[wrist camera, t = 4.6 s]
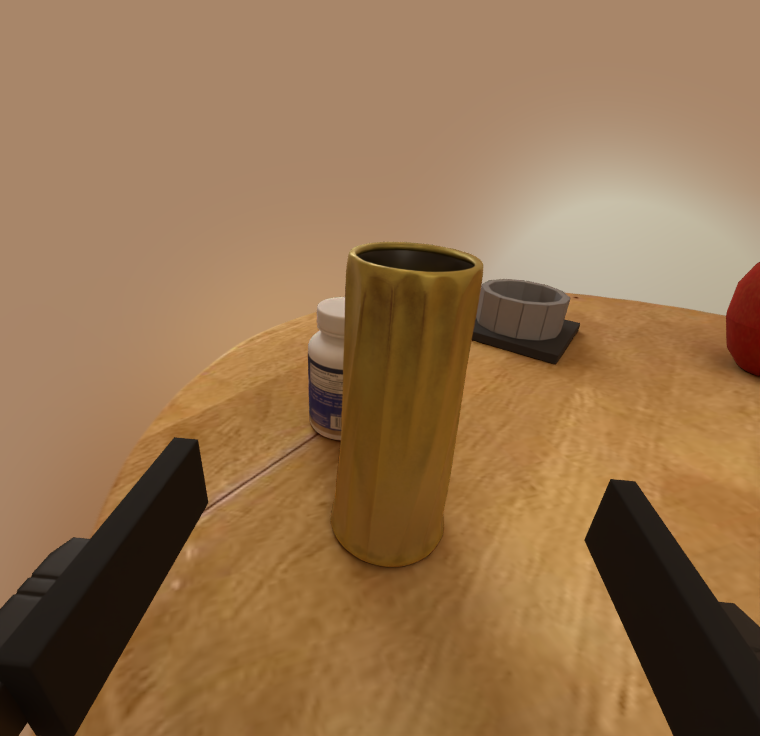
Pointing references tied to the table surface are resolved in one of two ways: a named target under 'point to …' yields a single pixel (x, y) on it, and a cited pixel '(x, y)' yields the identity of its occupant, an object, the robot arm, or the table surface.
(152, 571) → the robot arm
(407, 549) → the vase
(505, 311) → the socket pad
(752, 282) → the apple
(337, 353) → the pill bottle
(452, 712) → the table surface
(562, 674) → the table surface
